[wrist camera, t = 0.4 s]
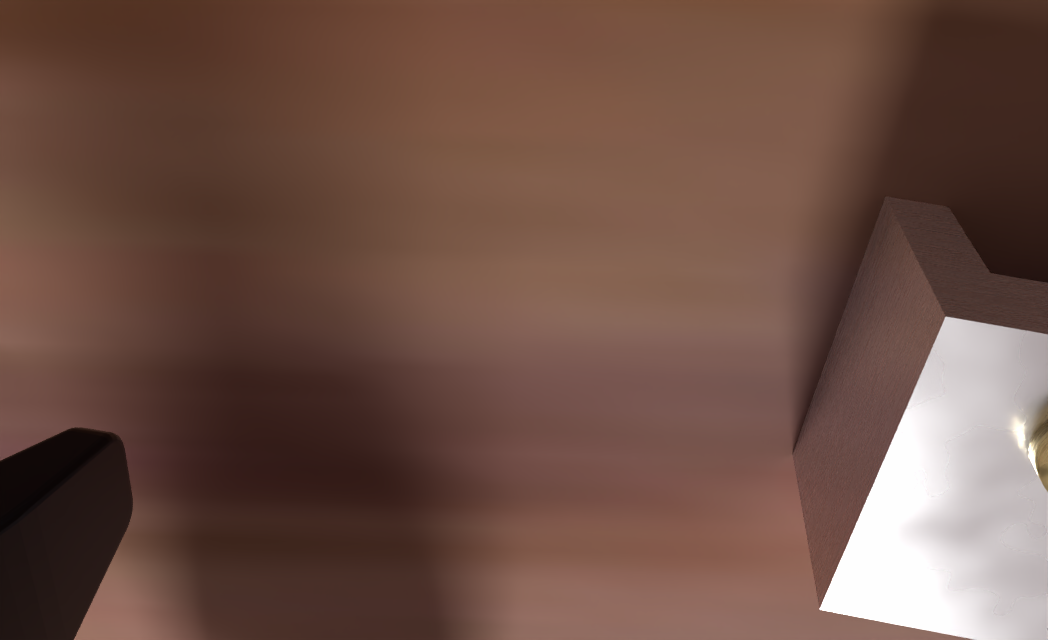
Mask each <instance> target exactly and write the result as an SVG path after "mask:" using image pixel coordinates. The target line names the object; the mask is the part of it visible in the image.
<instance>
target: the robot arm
mask: <svg viewBox="0 0 1048 640" xmlns="http://www.w3.org/2000/svg"><path fill="white" fill-rule="evenodd" d="M132 508H133V498H132V492H131V485H130V479H129V473H128V467H127V460H126V454H125V448H124V445H123V442H122V440H121V439H120V437H119V436H118V435H116V434H114V433H111V432H106V431H100V430H94V429H88V428H71V429H68V430H66V431H63V432H61V433H59V434H57V435H55V436H53V437H50V438H48V439H46V440H44V441H42V442H40V443H38V444H35V445H33V446H31V447H29V448H27V449H25V450H22V451H20V452H18V453H16V454H14V455H12V456H10V457H7V458H5V459H3V460H1V461H0V640H74V638H75V636H76V634H77V632H78V630H79V628H80V626H81V624H82V621H83V619H84V617H85V615H86V613H87V611H88V609H89V607H90V605H91V603H92V601H93V598H94V596H95V594H96V592H97V590H98V588H99V586H100V584H101V582H102V580H103V578H104V576H105V573H106V571H107V569H108V567H109V565H110V563H111V561H112V559H113V557H114V555H115V553H116V550H117V548H118V546H119V544H120V542H121V540H122V538H123V536H124V534H125V532H126V530H127V527H128V525H129V522H130V519H131V515H132Z"/></svg>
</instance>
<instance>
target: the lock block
mask: <svg viewBox="0 0 1048 640" xmlns="http://www.w3.org/2000/svg"><path fill="white" fill-rule="evenodd" d="M793 460H794V465H795V471H796V477H797V483H798V488H799V494H800V500H801V505H802V511H803V517H804V523H805V528H806V534H807V540H808V545H809V551H810V557H811V562H812V568H813V574H814V580H815V585H816V591H817V597H818V602H819V608H820V610H825V611H830V612H835V613H840V614H846V615H851V616H856V617H861V618H866V619H871V620H877V621H882V622H887V623H892V624H897V625H902V626H908V627H913V628H918V629H923V630H928V631H933V632H939V633H944V634H949V635H954V636H959V637H964V638H969V639H975V640H1048V283H1045V282H1039V281H1033V280H1028V279H1022V278H1016V277H1010V276H1004V275H999V274H993V273H990V272H989V270H988V268H987V267H986V265H985V264H984V262H983V261H982V259H981V257H980V256H979V254H978V253H977V251H976V250H975V248H974V246H973V245H972V243H971V242H970V240H969V239H968V237H967V235H966V234H965V232H964V231H963V229H962V227H961V226H960V224H959V223H958V221H957V220H956V218H955V216H954V215H953V213H952V212H951V210H950V209H949V207H947V206H941V205H935V204H929V203H923V202H917V201H911V200H905V199H899V198H894V197H888V196H885V199H884V201H883V204H882V207H881V210H880V212H879V215H878V218H877V221H876V224H875V226H874V229H873V232H872V235H871V237H870V240H869V243H868V246H867V249H866V251H865V254H864V257H863V260H862V262H861V265H860V268H859V271H858V274H857V276H856V279H855V282H854V285H853V287H852V290H851V293H850V296H849V299H848V301H847V304H846V307H845V310H844V312H843V315H842V318H841V321H840V324H839V326H838V329H837V332H836V335H835V337H834V340H833V343H832V346H831V349H830V351H829V354H828V357H827V360H826V362H825V365H824V368H823V371H822V374H821V376H820V379H819V382H818V385H817V387H816V390H815V393H814V396H813V399H812V401H811V404H810V407H809V410H808V412H807V415H806V418H805V421H804V424H803V426H802V429H801V432H800V435H799V437H798V440H797V443H796V446H795V449H794V451H793Z"/></svg>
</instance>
